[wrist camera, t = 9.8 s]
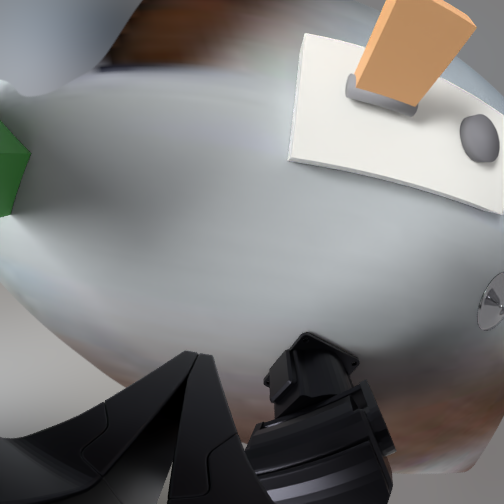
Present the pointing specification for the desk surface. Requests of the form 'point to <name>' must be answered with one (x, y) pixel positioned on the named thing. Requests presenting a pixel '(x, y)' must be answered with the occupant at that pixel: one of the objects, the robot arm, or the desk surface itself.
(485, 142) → the push button
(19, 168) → the cereal box
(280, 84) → the desk surface
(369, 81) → the paddle lever
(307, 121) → the switch panel
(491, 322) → the wine glass
